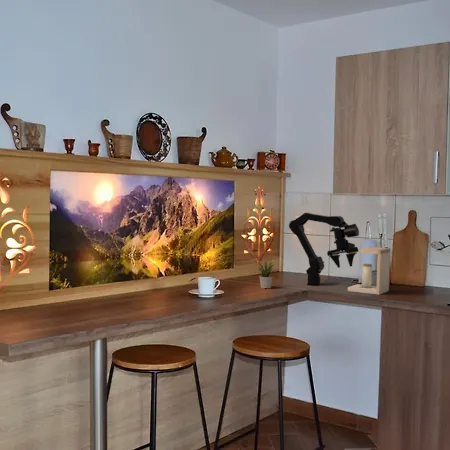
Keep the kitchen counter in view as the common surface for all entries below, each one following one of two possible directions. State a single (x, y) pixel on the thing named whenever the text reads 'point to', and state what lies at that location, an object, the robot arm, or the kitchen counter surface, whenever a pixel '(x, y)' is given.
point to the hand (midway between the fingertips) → (344, 267)
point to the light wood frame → (382, 272)
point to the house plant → (266, 274)
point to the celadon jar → (367, 276)
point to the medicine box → (374, 278)
